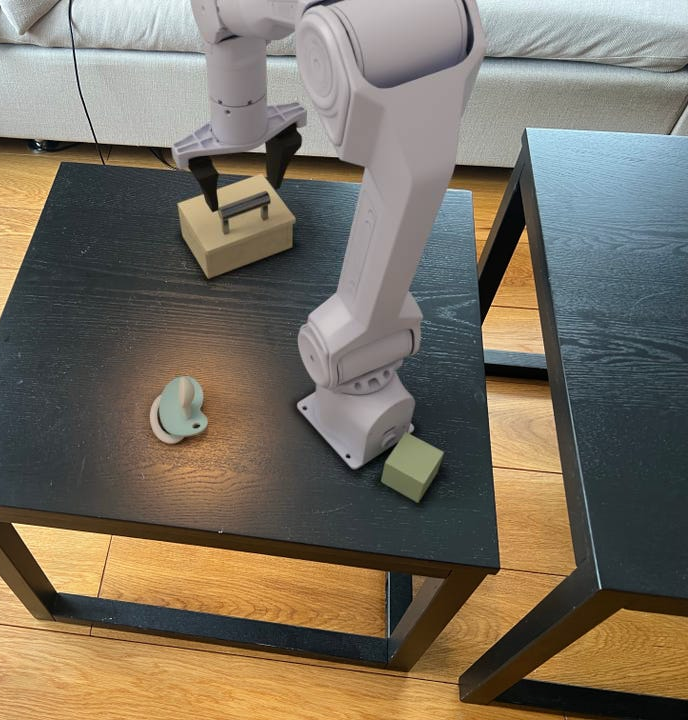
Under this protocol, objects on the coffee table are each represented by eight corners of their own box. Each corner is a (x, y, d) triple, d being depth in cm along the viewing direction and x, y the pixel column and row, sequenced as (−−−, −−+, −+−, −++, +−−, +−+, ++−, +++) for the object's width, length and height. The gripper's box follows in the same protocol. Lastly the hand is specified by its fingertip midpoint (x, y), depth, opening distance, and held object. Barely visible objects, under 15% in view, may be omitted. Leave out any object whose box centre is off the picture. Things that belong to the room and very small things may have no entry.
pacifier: (154, 453, 78) (211, 442, 77) (143, 421, 73) (204, 410, 72) (147, 395, 82) (202, 385, 82) (136, 361, 77) (194, 351, 77)
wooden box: (292, 247, 93) (292, 219, 89) (208, 279, 91) (204, 251, 87) (263, 206, 98) (262, 178, 94) (182, 235, 96) (177, 207, 92)
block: (437, 472, 73) (444, 452, 70) (418, 503, 72) (424, 484, 68) (400, 452, 75) (405, 431, 72) (380, 482, 73) (384, 462, 70)
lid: (295, 223, 89) (296, 193, 85) (207, 255, 87) (203, 227, 83) (262, 177, 94) (261, 148, 90) (177, 207, 92) (173, 178, 88)
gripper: (285, 47, 77) (284, 153, 88) (154, 90, 74) (170, 194, 85) (318, 83, 73) (313, 190, 84) (180, 130, 70) (194, 233, 82)
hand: (243, 194), depth 85 cm, fingers open, 7 cm apart
